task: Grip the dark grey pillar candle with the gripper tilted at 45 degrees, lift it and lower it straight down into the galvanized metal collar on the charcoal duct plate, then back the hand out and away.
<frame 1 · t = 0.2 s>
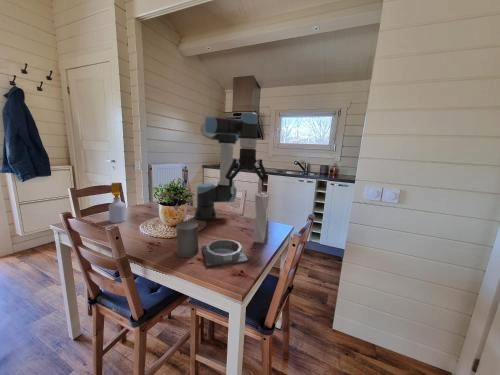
hand: (246, 193, 101), 28 cm above the table, tool pointing down, fingers open, 13 cm apart
soap bottle: (118, 221, 134), on the table
skyscraper: (260, 241, 115), on the table
pillar candle: (187, 252, 99), on the table
duct collar: (223, 254, 99), on the table
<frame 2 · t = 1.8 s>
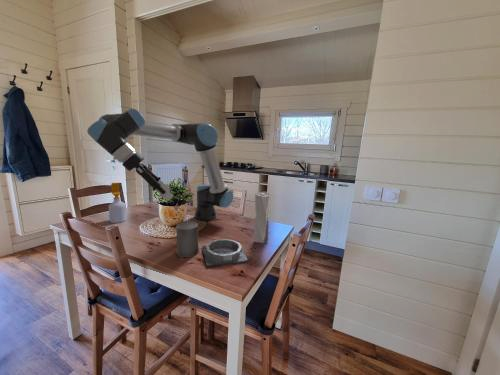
hand: (169, 195, 90), 28 cm above the table, tool tilted 45°, fingers open, 13 cm apart
nothing on the table moved.
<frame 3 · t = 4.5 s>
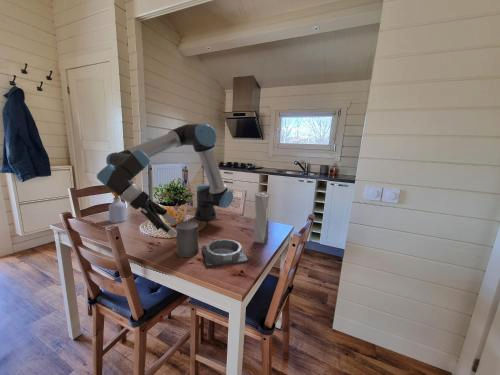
hand: (175, 228, 94), 12 cm above the table, tool tilted 45°, fingers open, 13 cm apart
nothing on the table moved.
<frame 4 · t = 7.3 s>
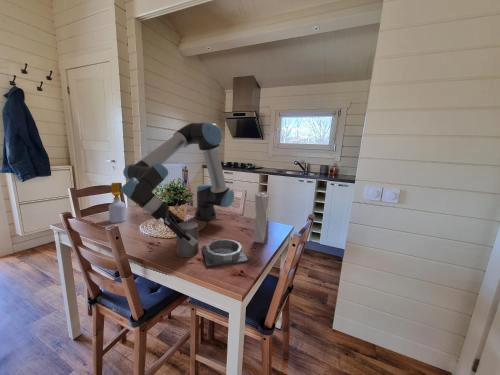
hand: (194, 238, 99), 6 cm above the table, tool tilted 45°, fingers closed on pillar candle, 9 cm apart
pillar candle: (187, 252, 99), on the table, touching gripper
everything else where it was.
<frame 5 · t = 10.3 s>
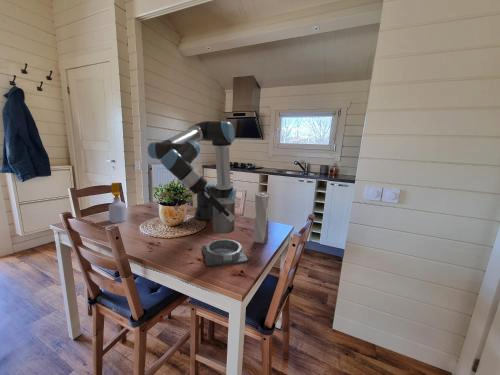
hand: (230, 215, 96), 19 cm above the table, tool tilted 45°, fingers closed on pillar candle, 9 cm apart
pillar candle: (223, 230, 96), point 12 cm above the table, touching gripper
everything else where it was.
when the fingers open (9 cm above the table, at t = 13.6 s): pillar candle drops 1 cm, resting on duct collar.
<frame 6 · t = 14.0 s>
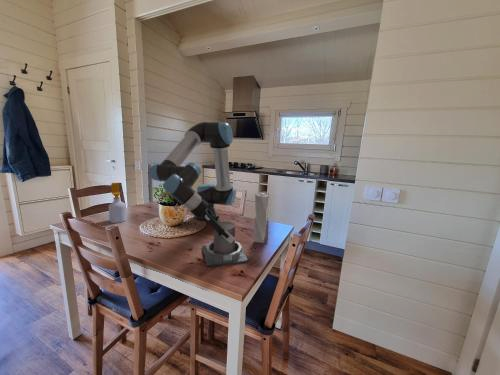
hand: (229, 234, 97), 10 cm above the table, tool tilted 45°, fingers open, 13 cm apart
pillar candle: (223, 253, 98), point 1 cm above the table, touching duct collar
everything else where it was.
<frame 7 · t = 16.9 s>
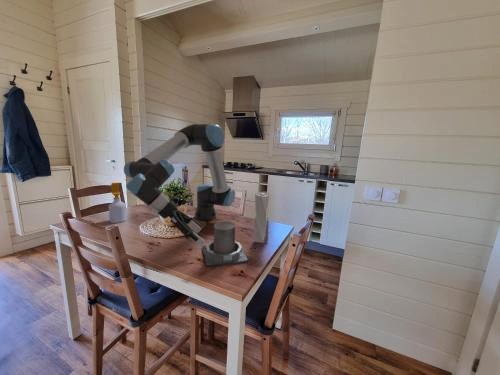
hand: (201, 237, 93), 10 cm above the table, tool tilted 45°, fingers open, 13 cm apart
nothing on the table moved.
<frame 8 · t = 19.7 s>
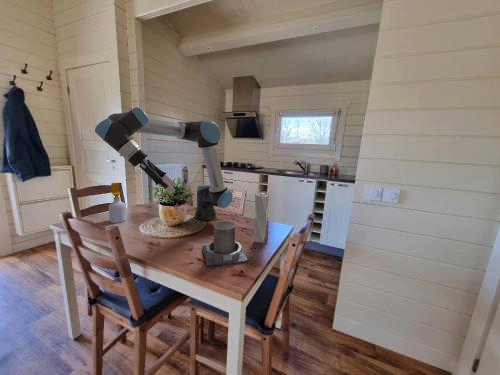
hand: (173, 189, 94), 30 cm above the table, tool tilted 45°, fingers open, 13 cm apart
nothing on the table moved.
at the end: pillar candle 0.3 cm off-centre on the duct collar, point 0.8 cm above the duct collar's base; pillar candle tilted 0°; the gripper is holding nothing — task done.
